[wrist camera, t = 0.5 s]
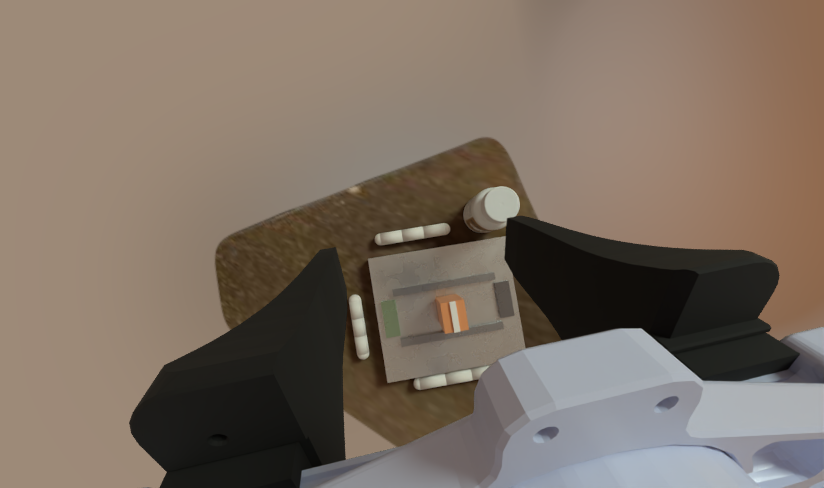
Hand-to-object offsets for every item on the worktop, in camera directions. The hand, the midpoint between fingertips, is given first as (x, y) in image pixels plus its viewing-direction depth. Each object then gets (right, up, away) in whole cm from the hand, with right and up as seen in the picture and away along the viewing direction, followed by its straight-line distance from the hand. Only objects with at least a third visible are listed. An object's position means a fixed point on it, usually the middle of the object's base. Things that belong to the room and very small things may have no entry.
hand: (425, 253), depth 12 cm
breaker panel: (+3, -7, +23) cm, 24 cm away
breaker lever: (+3, -7, +21) cm, 22 cm away
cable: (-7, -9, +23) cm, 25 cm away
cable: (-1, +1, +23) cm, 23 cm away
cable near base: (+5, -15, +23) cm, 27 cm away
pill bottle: (+8, +4, +24) cm, 25 cm away
